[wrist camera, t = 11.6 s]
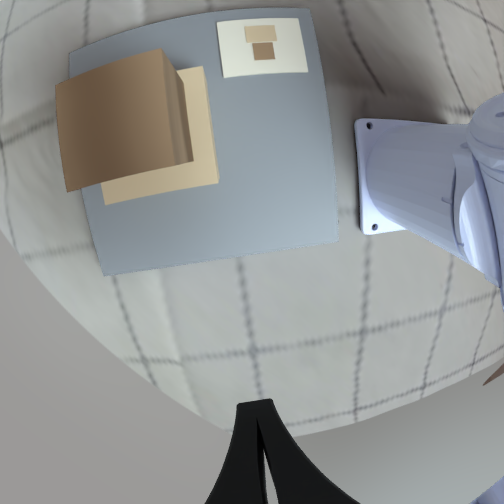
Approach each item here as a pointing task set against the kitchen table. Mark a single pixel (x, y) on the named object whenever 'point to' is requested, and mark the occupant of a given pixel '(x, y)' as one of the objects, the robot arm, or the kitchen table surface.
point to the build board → (224, 145)
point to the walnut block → (122, 120)
